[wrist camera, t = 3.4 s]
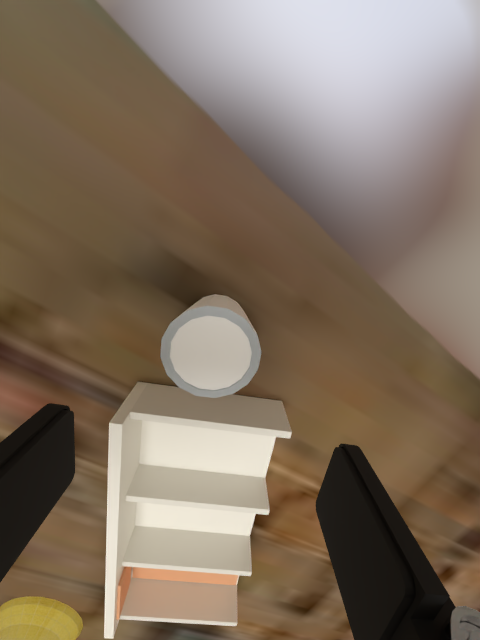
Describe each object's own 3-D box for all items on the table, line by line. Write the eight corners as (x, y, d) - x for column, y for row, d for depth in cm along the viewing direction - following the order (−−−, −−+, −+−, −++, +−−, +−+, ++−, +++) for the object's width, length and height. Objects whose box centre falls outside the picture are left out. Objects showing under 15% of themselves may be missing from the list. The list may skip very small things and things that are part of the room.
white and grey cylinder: (220, 369, 25) (215, 415, 18) (165, 325, 23) (138, 359, 16) (268, 321, 23) (282, 352, 17) (213, 271, 22) (205, 283, 15)
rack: (137, 381, 25) (109, 422, 19) (281, 401, 26) (295, 445, 20) (126, 569, 33) (104, 638, 27) (235, 578, 34) (236, 645, 28)
